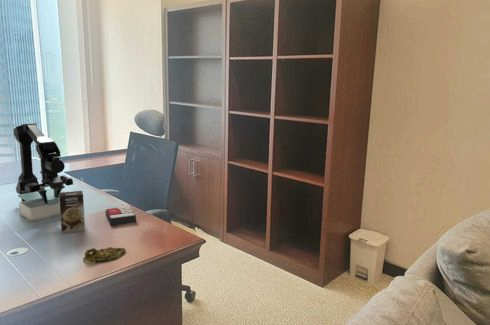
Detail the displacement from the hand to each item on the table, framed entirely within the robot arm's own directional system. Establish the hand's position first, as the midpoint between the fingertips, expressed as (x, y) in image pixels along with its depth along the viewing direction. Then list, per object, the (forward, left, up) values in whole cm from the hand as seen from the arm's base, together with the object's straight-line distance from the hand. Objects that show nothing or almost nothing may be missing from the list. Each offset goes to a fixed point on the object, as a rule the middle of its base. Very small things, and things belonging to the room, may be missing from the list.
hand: (51, 202), depth 169 cm
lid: (-6, 0, 0) cm, 6 cm away
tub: (-9, 0, -8) cm, 11 cm away
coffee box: (+19, 0, -8) cm, 21 cm away
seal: (+51, -4, -8) cm, 52 cm away
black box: (+22, +21, -8) cm, 31 cm away
